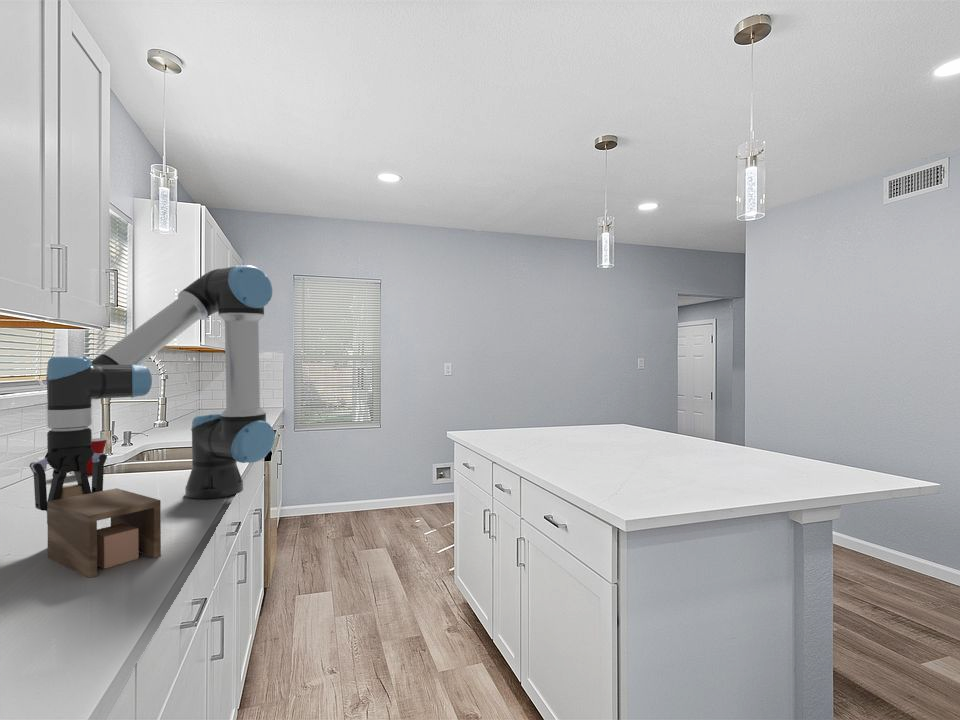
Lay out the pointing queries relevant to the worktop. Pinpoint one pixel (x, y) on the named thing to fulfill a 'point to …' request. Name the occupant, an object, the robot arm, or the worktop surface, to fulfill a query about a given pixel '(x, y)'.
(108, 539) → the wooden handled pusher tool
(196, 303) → the robot arm
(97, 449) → the plastic cup
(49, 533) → the shelf lane
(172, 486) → the worktop surface
